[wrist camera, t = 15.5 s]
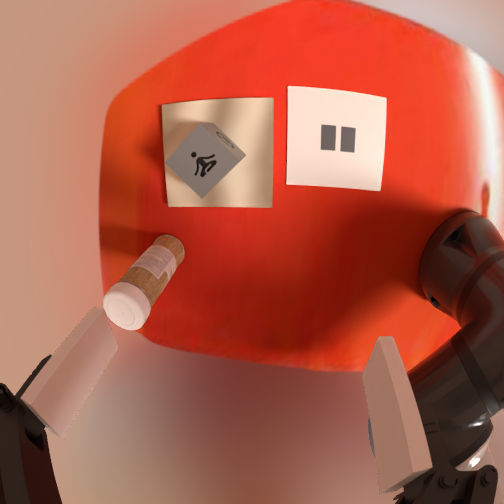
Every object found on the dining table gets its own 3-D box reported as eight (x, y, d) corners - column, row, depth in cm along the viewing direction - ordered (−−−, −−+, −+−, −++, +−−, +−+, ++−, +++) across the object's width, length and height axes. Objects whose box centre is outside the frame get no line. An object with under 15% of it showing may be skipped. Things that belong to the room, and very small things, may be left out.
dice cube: (214, 186, 29) (202, 199, 25) (182, 156, 28) (164, 162, 23) (246, 155, 27) (240, 161, 23) (213, 123, 26) (200, 122, 21)
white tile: (386, 98, 23) (386, 97, 23) (379, 190, 28) (380, 191, 28) (287, 86, 24) (287, 85, 24) (286, 184, 29) (286, 184, 29)
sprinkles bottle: (175, 270, 36) (134, 339, 24) (148, 251, 35) (96, 312, 23) (192, 246, 34) (150, 314, 22) (163, 225, 33) (108, 283, 21)
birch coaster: (273, 98, 25) (273, 97, 24) (272, 205, 30) (272, 207, 30) (165, 105, 26) (161, 104, 25) (171, 204, 31) (168, 206, 31)
